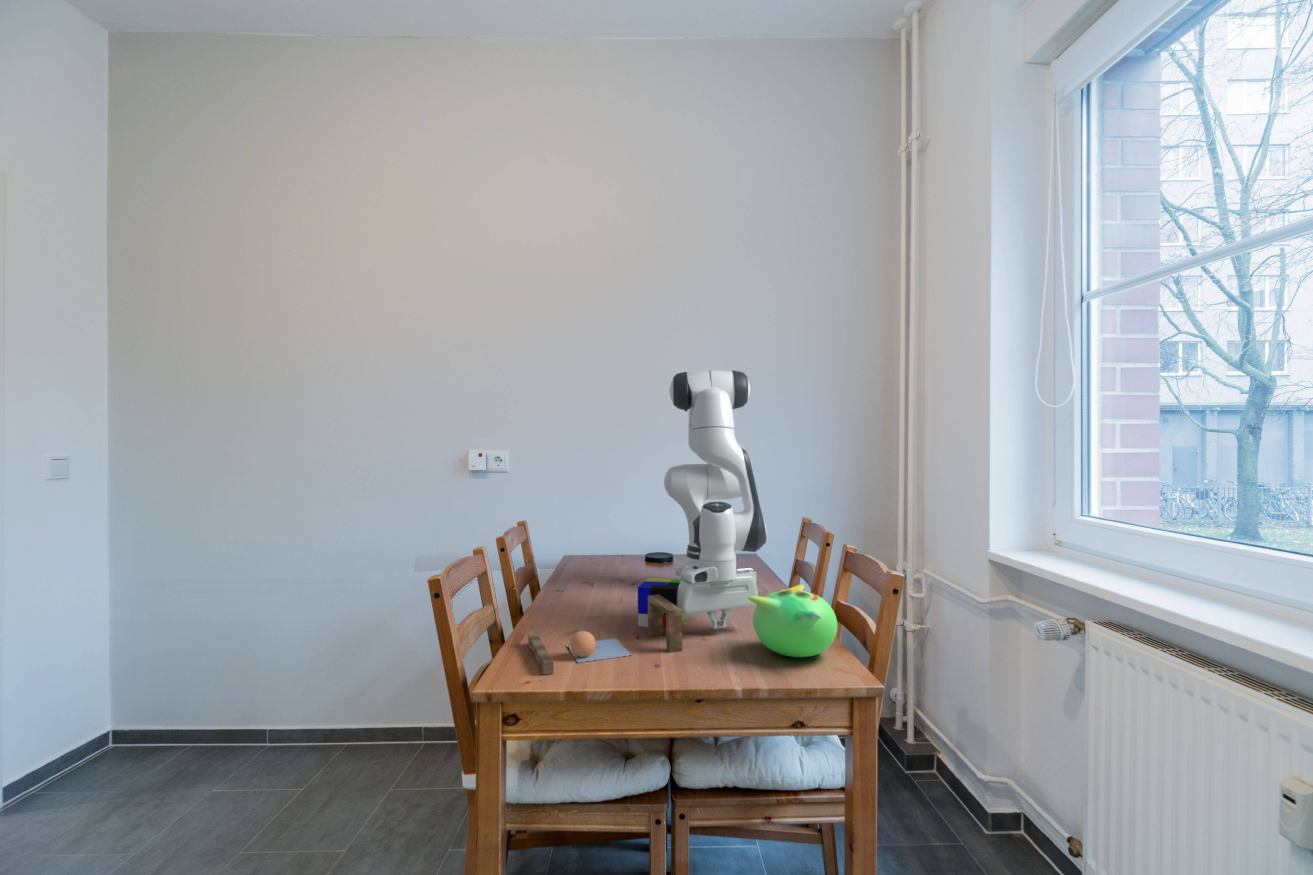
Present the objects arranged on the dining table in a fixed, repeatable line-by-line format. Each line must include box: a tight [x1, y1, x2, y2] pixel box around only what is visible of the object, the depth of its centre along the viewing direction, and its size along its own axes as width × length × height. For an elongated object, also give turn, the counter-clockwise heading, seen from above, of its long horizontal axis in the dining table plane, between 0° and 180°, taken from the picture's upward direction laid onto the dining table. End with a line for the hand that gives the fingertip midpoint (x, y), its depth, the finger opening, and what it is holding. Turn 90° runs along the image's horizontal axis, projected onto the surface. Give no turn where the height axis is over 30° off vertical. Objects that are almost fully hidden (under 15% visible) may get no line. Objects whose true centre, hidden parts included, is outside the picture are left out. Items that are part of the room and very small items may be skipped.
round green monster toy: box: [748, 584, 838, 658], centre depth 139 cm, size 18×17×15 cm
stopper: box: [527, 632, 554, 675], centre depth 139 cm, size 20×2×2 cm, turn 20°
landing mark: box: [566, 638, 632, 664], centre depth 143 cm, size 12×12×1 cm
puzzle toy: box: [637, 578, 686, 629], centre depth 165 cm, size 10×10×10 cm
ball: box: [569, 630, 596, 657], centre depth 140 cm, size 6×6×6 cm
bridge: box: [647, 595, 683, 653], centre depth 149 cm, size 3×14×9 cm, turn 20°
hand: (718, 627), depth 154 cm, fingers closed
